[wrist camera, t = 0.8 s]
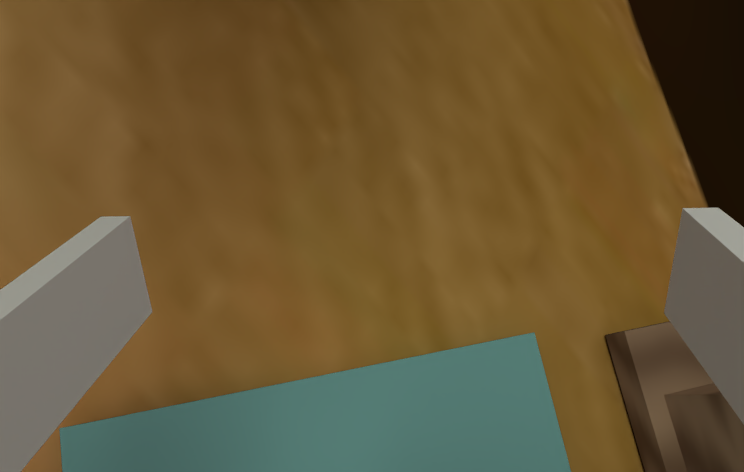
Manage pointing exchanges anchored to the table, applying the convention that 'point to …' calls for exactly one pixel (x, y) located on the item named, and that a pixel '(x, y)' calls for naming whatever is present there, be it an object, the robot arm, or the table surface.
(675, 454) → the walnut stand
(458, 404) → the teal mat
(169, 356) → the table surface
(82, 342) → the robot arm
